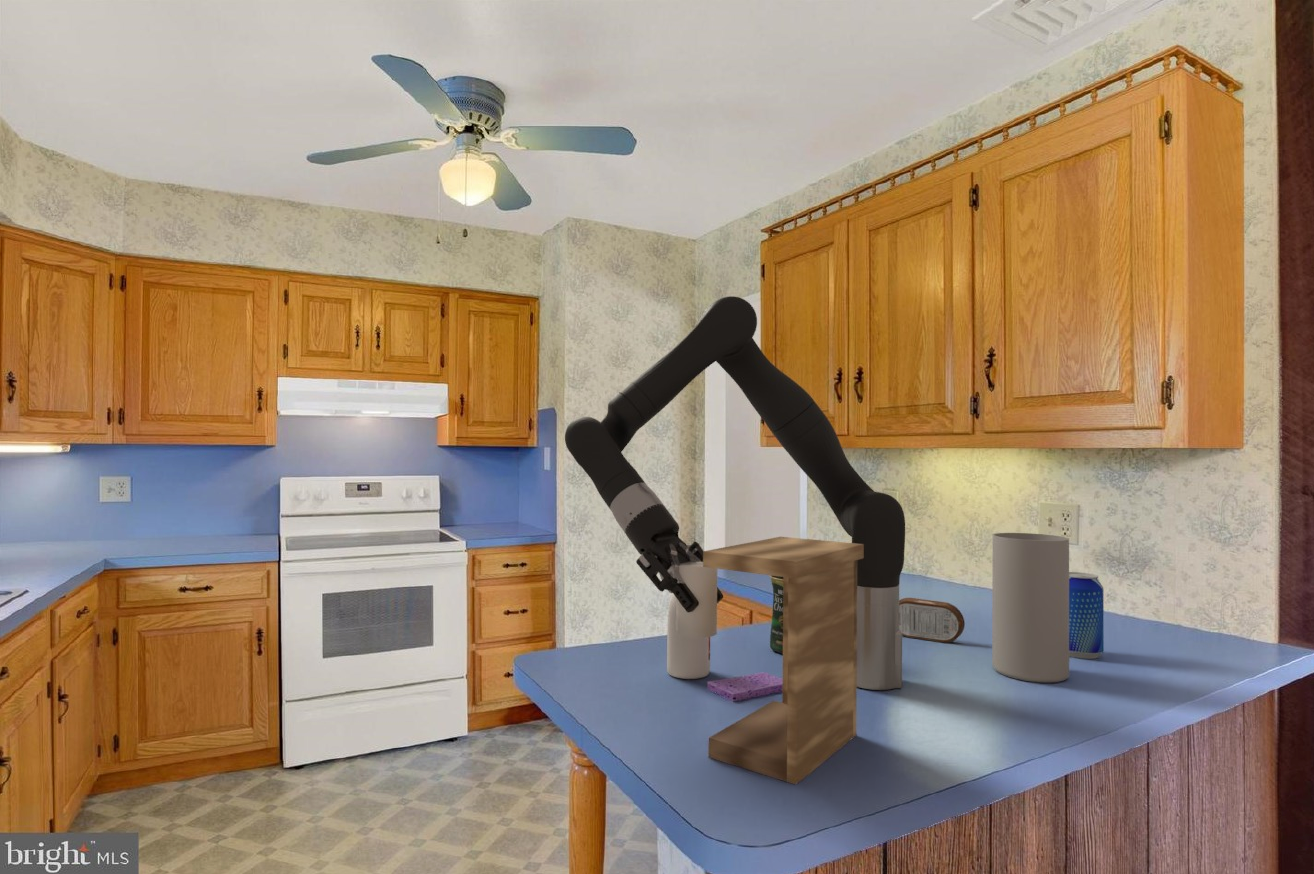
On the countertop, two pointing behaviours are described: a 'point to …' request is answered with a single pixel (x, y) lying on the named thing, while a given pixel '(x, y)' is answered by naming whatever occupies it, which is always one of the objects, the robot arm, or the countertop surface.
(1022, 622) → the cylinder vase
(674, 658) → the milk bottle
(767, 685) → the sponges
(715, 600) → the candle
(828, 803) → the countertop surface
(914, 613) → the tin
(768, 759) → the wooden c-shaped stand
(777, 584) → the coffee jar
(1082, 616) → the beer can
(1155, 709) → the countertop surface
